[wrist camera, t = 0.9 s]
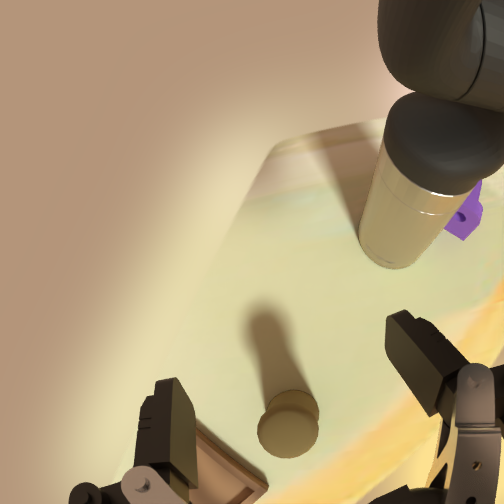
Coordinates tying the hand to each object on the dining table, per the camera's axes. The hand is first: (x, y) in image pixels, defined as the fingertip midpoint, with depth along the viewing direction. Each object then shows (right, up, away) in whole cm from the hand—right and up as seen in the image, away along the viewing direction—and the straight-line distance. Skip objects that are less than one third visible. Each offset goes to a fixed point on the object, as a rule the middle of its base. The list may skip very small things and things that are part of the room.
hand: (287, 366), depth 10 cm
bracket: (+28, +12, +27) cm, 41 cm away
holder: (-8, -25, +18) cm, 32 cm away
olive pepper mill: (+3, -14, +21) cm, 25 cm away
